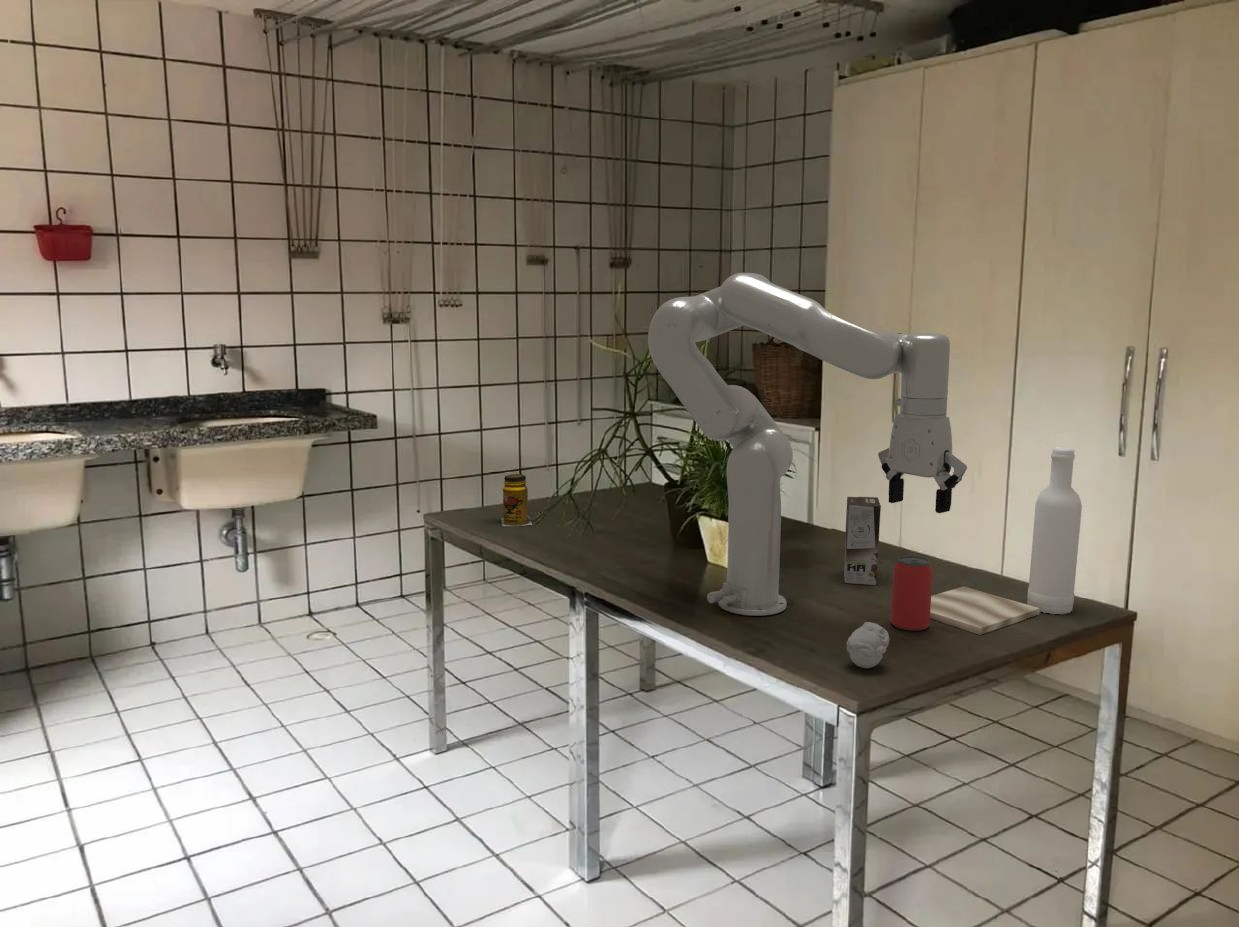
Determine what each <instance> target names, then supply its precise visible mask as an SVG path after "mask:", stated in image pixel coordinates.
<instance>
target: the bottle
mask: <svg viewBox="0 0 1239 927" xmlns="http://www.w3.org/2000/svg"><path fill="white" fill-rule="evenodd" d="M1050 457H1051V463H1050V464H1051V465H1050V475H1049V476H1050V477H1049V478H1050V479H1049V485H1048V486H1046V487H1045V488H1043V490H1042V491H1040V492H1039V495H1038V497H1037V499H1036V502H1035V506H1034V508H1035V509H1034V517H1033V519H1034V521H1033V530H1032V544H1031V554H1030V555H1031V556H1030V567H1029V579H1028V580H1029V581H1028V589H1027V594H1026V595H1027V598H1026V599H1027V603H1026V604H1027V605H1030V606H1034V607H1037V608H1040V613H1041V612H1043V613H1042V614H1046V613H1050V614H1049V615H1055V614H1060V615H1067V613H1068V614H1070V613H1071V611H1072V612H1073V607H1074V603H1075V602H1074V601H1075V584H1076V574H1077V564H1078V554H1079V553H1078V552H1079V540H1080V532H1081V531H1080V530H1081V521H1082V511H1083V510H1082V509H1083V506H1082V501H1081V497H1080V495H1079V493H1078V492H1077V491H1076V490H1075V489H1074V488H1073V487H1072V479H1073V470H1074V468H1073V467H1074V460H1075V458H1076V455H1075V449H1074V448H1073V447H1067V446H1055V447H1053V448H1052V453H1051V455H1050Z"/></svg>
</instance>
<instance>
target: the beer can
mask: <svg viewBox="0 0 1239 927" xmlns="http://www.w3.org/2000/svg"><path fill="white" fill-rule="evenodd" d="M892 574H893V575H892V589H891V603H890V604H891V606H890V608H891V609H890V623H891V624H892V626H894V627H895V628H897V629H900V630H903V631H909V632H918V631H919V632H920V631H923V630H926V629H928V627H929V626H930V625H931V624H930V623H931V619H930V609H931V596H932V593H933V592H932V591H933V590H932V589H933V578H934V577H933V574H934V572H933V568H932V566H931V560H929V558H926V557H924V556H919V555H901V556H898V557H897V559H896V563H895V565H894V568H893V572H892Z"/></svg>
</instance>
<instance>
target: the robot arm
mask: <svg viewBox="0 0 1239 927" xmlns="http://www.w3.org/2000/svg"><path fill="white" fill-rule="evenodd" d="M743 326H746V327H748V328H750V329H751V328H752V329H753V330H756V331H757V332H761V333H764V334H766V335H768V336H771V337H773V338H775V339H778V340H780V341H782V342H784V343H787V344H789V345H790V346H793V347H794V348H796V349H798V350H800V351H801V352H802V351H803V352H805V353H806V354H809V355H811V356H814V357H815V358H817V359H819V360H820V361H823V362H826V363H827V364H830V365H831V366H835V367H837V368H839V369H841V370H844V371H846V372H849V373H851V374H852V375H855V376H859V377H860V378H864V379H869V380H880V379H883V378H885V377H888V375H892V374H901V380H900V385H901V386H900V397H897V399H896V403H895V404H896V406H898V407H899V408H900V409H899V413H896V414H895V417H894V421H893V423H892V428H891V433H890V439H889V447H888V448H886V449H883V450H882V451H879V452H878V454H877V455H878V458H879V462H880V464H881V466H880V467H881V469H882V471H883V472H884V474H885V478H886V480H888V503H890V504H895V503H901V502H902V501H904V493H905V492H904V491H905V490H904V488H905V486H904V485H905V481H904V480H905V479H904V478H903V477H902V476H903V475H905V474H906V475H911V476H916V477H922V478H933V479H934V480H935V482H936V484H937V486H938V487H939V488H937V489H936V491H935V492H936V493H935V514H942V513H947V512H950V511H951V507H952V493H953V489H955V488H956V486H957V485H958V484H959V483H960V482H961V481H962V480H963V477H964V475H965V473H966V471H967V469H968V466H967V464H966V463H964V462H963V461H961V459H959V458H958V457H956V456H955V455H954V454H953V436H952V426H951V421H950V417H949V416H947V413H948V412H947V410H948V395H949V394H948V392H949V391H948V390H949V389H948V388H949V375H950V374H949V372H950V355H951V354H950V353H951V352H950V351H951V342H950V339H949V337H948V336H947V335H945V334H941V333H912V334H905V333H896V332H892V331H871V330H868V329H866V328H864V327H861V326H859V325H856V324H853V323H851V322H850V321H849V322H848V321H846V320H844V319H842V318H840V317H838V316H836V315H834V314H833V313H831V312H829V311H827V310H826V309H825V307H823V306H822V305H821V304H820V303H819V302H818V301H816V300H815V299H812V298H810V297H807V296H805V295H803V294H800V293H797V292H794V291H792V290H790V289H787V288H785V287H782V286H780V285H777V284H775V283H773V282H771V281H770V280H769V279H768V278H767V277H765V275H762V274H759V273H755V272H738V273H733V275H730V276H729V277H727V278H726V279H725V281H723V283H722V284H721V285H720V286H718V287H715V288H712V289H710V290H708V291H705V292H702V293H700V294H698V295H695V296H694V295H693V296H681V297H674V298H671V299H669V300H667V301H666V302H664V303H663V304H661V305H660V306H659V308H658V309H657V310H656V311H655V313H654V315H653V317H652V319H651V322H650V325H649V328H648V333H647V334H648V335H647V345H648V351H649V354H650V356H651V359H652V362H653V363H654V366H655V368H656V369H657V370H658V372H659V374H660V375H661V376H662V378H663V379H664V380H665V382H666V383H667V384H668V386H669V387H670V388H671V390H672V391H673V393H674V394H675V395H676V397H677V398H678V400H679V401H680V403H681V404H682V406H683V407H684V408H685V410H686V411H687V412H688V413H689V415H690V416H691V417H692V419H693V420H694V422H695V423H696V425H697V426H698V427H699V429H700V430H701V431H702V433H703V434H704V435H706V437H707V438H708V439H710V440H713V441H717V442H724V441H728V443H729V444H730V445H731V447H732V448H733V449H732V450H731V452H730V454H729V456H728V458H727V463H726V485H727V496H728V498H727V499H728V514H727V515H728V520H727V522H728V533H727V534H728V535H727V538H728V539H727V565H726V566H727V569H726V570H727V571H726V573H727V574H726V575H727V576H726V581H725V582H723V583H722V588H720V589H719V590H716V591H711V592H708V593H707V595H706V600H707V601H708V603H710V604H713V603H717V605H718V606H719V607H720V608H721V609H722V610H725V611H727V612H729V613H732V614H736V615H741V616H754V617H756V616H757V617H758V616H761V617H762V616H763V617H764V616H772V615H776V614H779V613H782V612H783V611H785V610H786V608H787V603H788V602H787V599H786V598H785V597H784V596H782V595H781V594H779V587H780V586H779V585H780V583H779V582H780V561H781V560H780V558H781V530H782V529H781V527H782V526H781V525H782V524H781V523H782V499H781V498H782V496H781V478H782V477H784V475H785V474H786V473H788V471H789V470H790V468H791V466H792V464H793V459H794V458H793V457H794V454H793V447H792V445H791V443H790V441H789V439H788V438H787V437H786V435H785V434H784V432H783V431H782V430H781V429H780V427H779V426H778V424H777V423H776V421H775V420H774V419H773V418H772V416H771V415H770V414H769V412H768V411H767V410H766V408H765V407H764V406H763V404H762V403H761V402H760V400H759V399H758V398H757V397H756V396H755V395H754V394H753V393H752V392H751V391H750V390H749V389H747V388H745V387H743V386H740V385H736V384H727V382H725V380H724V379H723V378H722V376H721V375H720V374H719V373H718V372H717V370H716V368H715V367H714V365H713V364H712V362H710V360H709V359H708V358H707V357H706V356H705V355H704V354H703V353H702V352H701V351H700V350H699V349H698V347H697V343H699V342H703V341H707V340H710V339H712V338H714V337H718V336H720V335H722V334H725V333H728V332H730V331H733V330H735V329H737V328H741V327H743ZM952 468H953V472H952V474H950V473H951V470H952Z"/></svg>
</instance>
